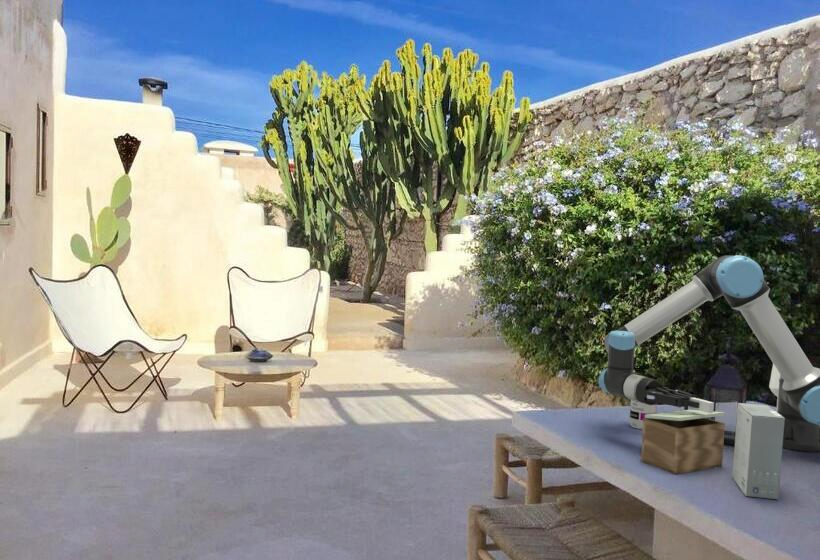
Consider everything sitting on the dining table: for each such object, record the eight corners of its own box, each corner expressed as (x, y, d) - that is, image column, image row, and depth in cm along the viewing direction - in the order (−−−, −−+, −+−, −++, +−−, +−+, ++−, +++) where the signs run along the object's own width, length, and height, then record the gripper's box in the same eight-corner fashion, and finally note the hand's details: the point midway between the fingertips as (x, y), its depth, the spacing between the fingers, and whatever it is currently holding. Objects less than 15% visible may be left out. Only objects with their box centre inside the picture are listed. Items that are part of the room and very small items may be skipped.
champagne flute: (768, 421, 259) (773, 353, 258) (790, 425, 255) (795, 355, 254) (764, 425, 254) (769, 355, 252) (786, 428, 250) (791, 357, 248)
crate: (685, 454, 214) (688, 413, 213) (721, 466, 204) (724, 423, 203) (640, 461, 205) (642, 418, 205) (675, 474, 195) (678, 429, 194)
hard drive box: (779, 500, 178) (785, 418, 177) (745, 497, 179) (751, 415, 178) (762, 480, 193) (768, 404, 192) (731, 477, 195) (736, 401, 193)
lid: (689, 412, 213) (689, 409, 213) (725, 415, 202) (725, 412, 203) (644, 417, 204) (644, 414, 204) (679, 420, 194) (679, 417, 194)
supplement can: (658, 426, 246) (661, 381, 245) (651, 431, 239) (654, 385, 238) (633, 422, 250) (636, 378, 249) (626, 427, 243) (628, 381, 242)
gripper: (658, 401, 220) (727, 419, 199) (626, 404, 213) (693, 424, 193) (660, 375, 219) (729, 392, 199) (627, 378, 213) (695, 395, 192)
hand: (711, 407), depth 196 cm, fingers closed
